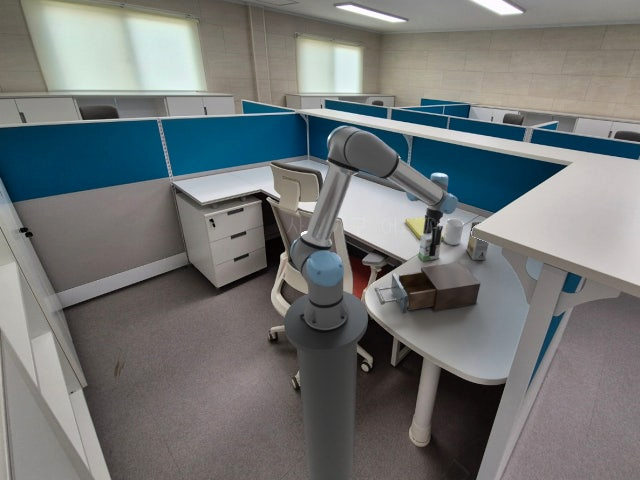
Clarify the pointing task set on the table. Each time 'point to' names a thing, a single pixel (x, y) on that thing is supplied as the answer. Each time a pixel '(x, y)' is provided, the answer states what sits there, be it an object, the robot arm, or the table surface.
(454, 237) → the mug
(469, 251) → the coffee box
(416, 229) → the yellow flat slab
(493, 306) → the table surface
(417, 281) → the drawer
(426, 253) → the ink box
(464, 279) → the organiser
